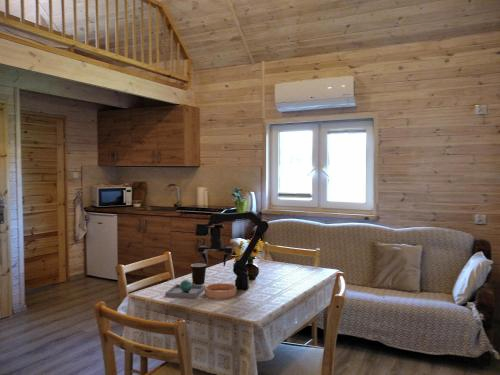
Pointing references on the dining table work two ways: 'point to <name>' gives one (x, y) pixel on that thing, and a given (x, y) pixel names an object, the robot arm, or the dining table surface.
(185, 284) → the ball
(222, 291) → the bowl
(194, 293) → the tray
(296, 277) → the dining table surface
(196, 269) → the coffee mug
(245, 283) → the robot arm
